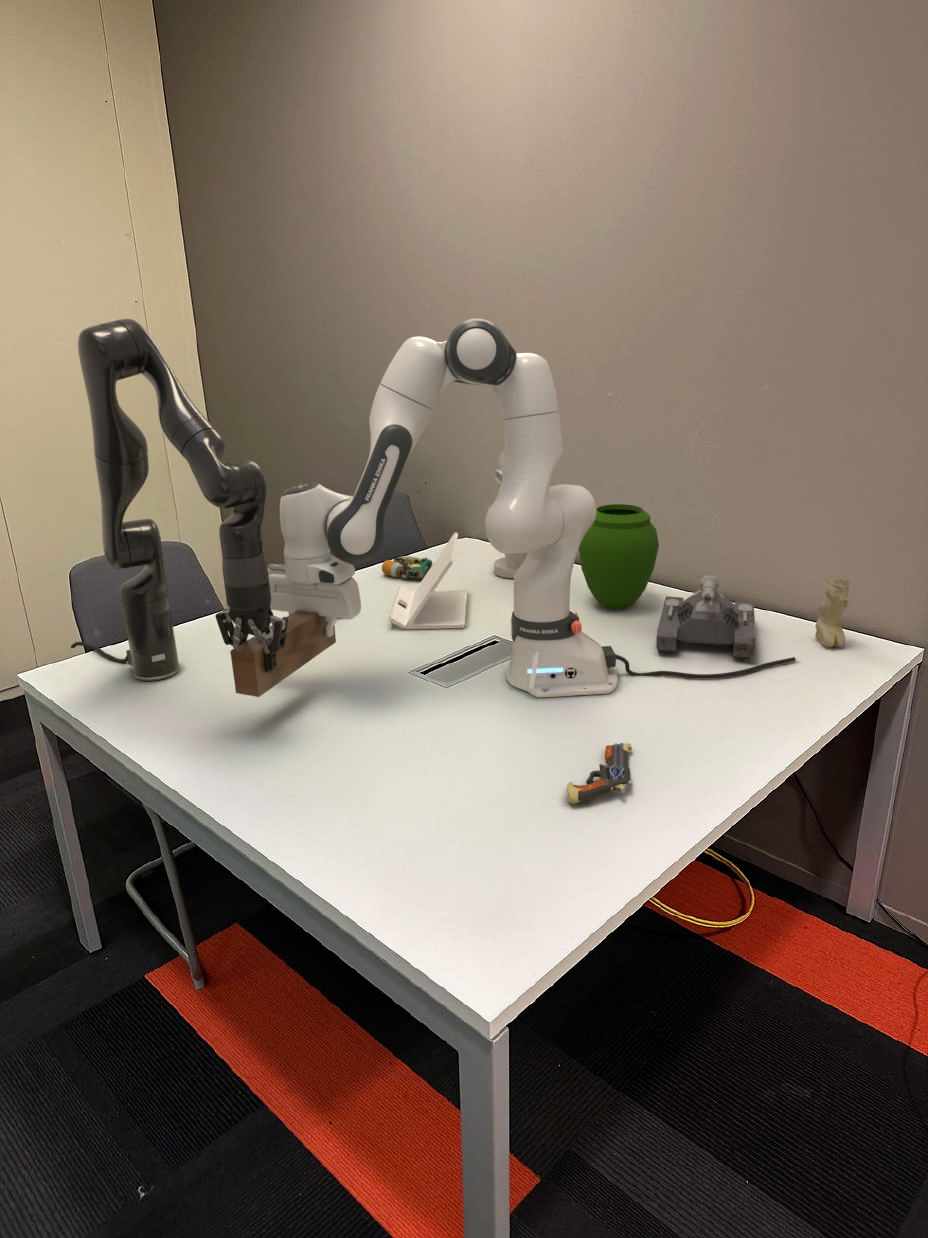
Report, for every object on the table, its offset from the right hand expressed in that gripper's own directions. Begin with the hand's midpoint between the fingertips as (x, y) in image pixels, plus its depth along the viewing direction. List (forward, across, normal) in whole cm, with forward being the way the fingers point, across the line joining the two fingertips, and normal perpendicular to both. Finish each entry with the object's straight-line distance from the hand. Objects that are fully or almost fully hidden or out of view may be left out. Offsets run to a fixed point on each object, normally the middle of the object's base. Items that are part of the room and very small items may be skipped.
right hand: (314, 633), depth 170 cm
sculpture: (+12, +96, +55) cm, 111 cm away
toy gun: (+12, +62, -16) cm, 65 cm away
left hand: (-1, 0, -20) cm, 20 cm away
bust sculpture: (+12, +17, +82) cm, 85 cm away
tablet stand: (+12, +3, +48) cm, 49 cm away
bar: (+3, 0, -10) cm, 10 cm away
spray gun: (+12, -15, +76) cm, 78 cm away
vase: (+12, +46, +66) cm, 81 cm away
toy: (+12, +70, +50) cm, 87 cm away
